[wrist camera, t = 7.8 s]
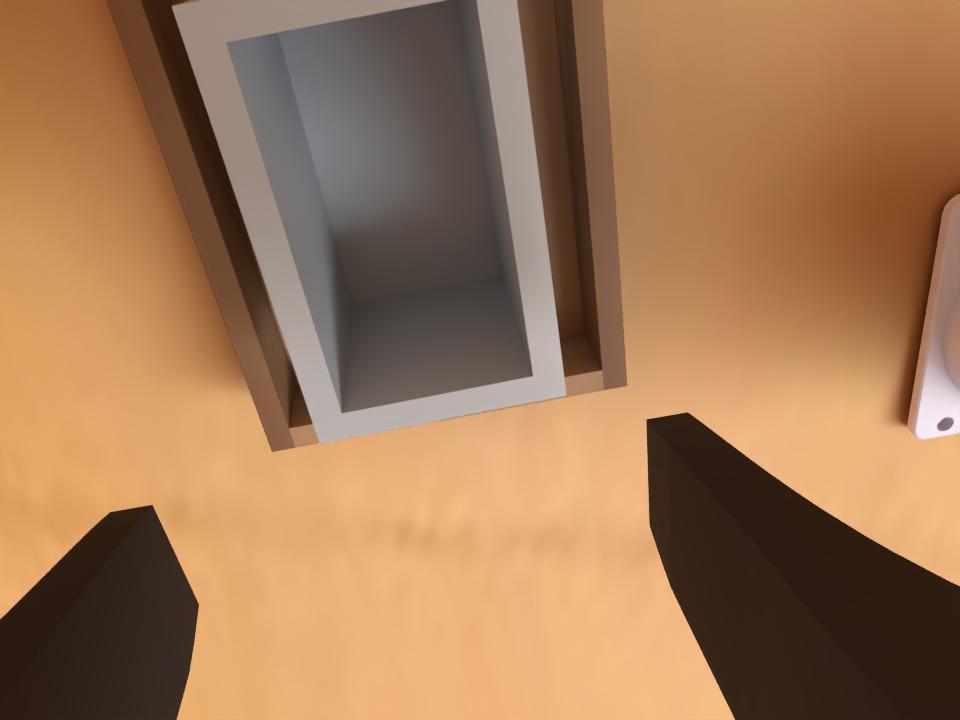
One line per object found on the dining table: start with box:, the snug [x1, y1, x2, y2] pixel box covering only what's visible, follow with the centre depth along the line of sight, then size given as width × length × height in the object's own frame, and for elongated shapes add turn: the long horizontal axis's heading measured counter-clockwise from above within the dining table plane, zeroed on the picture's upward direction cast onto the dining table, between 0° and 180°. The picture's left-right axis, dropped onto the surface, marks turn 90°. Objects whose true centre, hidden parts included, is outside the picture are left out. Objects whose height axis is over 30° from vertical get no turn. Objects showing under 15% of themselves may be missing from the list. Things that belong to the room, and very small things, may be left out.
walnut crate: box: [106, 0, 627, 452], centre depth 17 cm, size 9×12×2 cm
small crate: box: [171, 0, 567, 444], centre depth 15 cm, size 5×8×6 cm, turn 9°
